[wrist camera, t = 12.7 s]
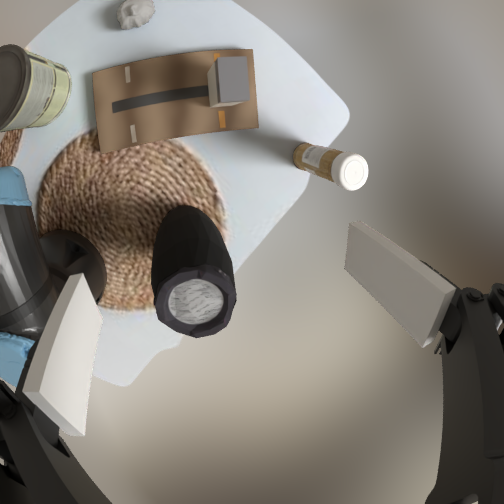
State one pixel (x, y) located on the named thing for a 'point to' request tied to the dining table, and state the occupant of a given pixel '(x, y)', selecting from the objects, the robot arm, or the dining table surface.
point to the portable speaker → (192, 274)
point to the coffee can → (30, 89)
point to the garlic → (135, 13)
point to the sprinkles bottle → (332, 165)
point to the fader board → (166, 100)
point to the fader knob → (228, 81)
